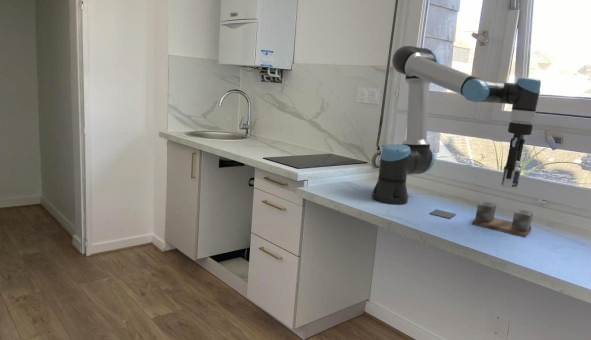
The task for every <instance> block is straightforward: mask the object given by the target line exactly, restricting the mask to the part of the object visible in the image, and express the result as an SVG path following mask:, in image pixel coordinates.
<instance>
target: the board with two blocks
mask: <svg viewBox="0 0 591 340" xmlns="http://www.w3.org/2000/svg"><path fill="white" fill-rule="evenodd" d="M496 207H497V203H494V202H493V203H492V202H488V201H485V200H482V201H481V202H480V203H478V204H477V207H476V212H475V213H476V215H475V217H474V219H473V220H472V225H474V226H477V227H478V226H479V227H481V228H482V227H483V228H488V229H491V230H495V231H497V232H498V231H499V232H501V233H502V232H503V233H508V234H511V235H515V236H520V237H524V238H527V236H528V235H529V233H530V232H531V230H532V227H533V226H531V224H532V219H533V215H534V214H533V213H534V212H533V211H530V210H527V209H526V210H525V209H519V208H517V209H516V210H515V211H514V213H513V217H512V221H510V220H506V219H502V218H497V217H495V214H496V209H497V208H496Z"/></svg>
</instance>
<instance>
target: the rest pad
mask: <svg viewBox="0 0 591 340" xmlns="http://www.w3.org/2000/svg"><path fill="white" fill-rule="evenodd" d="M429 215H433V216H437V217H440V218H443V219H448V220H451V219H452V218H454V217H455V216H457V214H456V213H454V212H449V211H445V210H442V209H437V208H436V209H434V210H432V211H430V212H429Z"/></svg>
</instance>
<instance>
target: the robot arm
mask: <svg viewBox="0 0 591 340" xmlns="http://www.w3.org/2000/svg"><path fill="white" fill-rule="evenodd" d="M391 61H392V67H393V69H394V70H395V71H396V72H397V73H398V74H401V75H405V83H407V84H408V94H407V96H408V97H407V118H406V138H405V140H404V141H403V142H402V144H400V143H399V144H398V143H397V144H395V143H393V144H386V145H384V146H383V147H382V148H381V149H382V150H381V154H380V161H379V169H378V170H379V172H378V176H377V177H378V178H377V181H376V183H375V186H374V188H373V189H372V192H371V193H372V194H371V198H372V199H373V200H375V201H377V202H380V203H384V204H388V205H389V204H391V205H403V204H407V203H408V201H409V194H408V189H407V178H408V175H420V174H426V173H427V172H428V171H430V170H431V169H433V166H434V163H435V153H434V152H433V150H432V149H431V147H430V146H431V143H430V142H429V141H428V139H427V138H428V137H427V136H428V118H429V117H428V116H429V101H430V100H429V97H430V96H429V95H430V84H431V83H432V84H434V85H437V86H438V87H442V88H443V89H446V90H449V91H451V92H453V93H456V94H459V95H461V96H463V97H464V98H465V99H466V100H468V101H470V102H473V103H492V104H493V103H494V104H503V105H504V104H505V105H512V107H511V113H510V116H509V121H510V122H509V123H508V128H507V133H510V134H513V137H512V138H510V141H509V142H510V143H509V150H508V154H507V159H506V164H505V166H506V167H505V166H504V167H503V170H504V169H506V173H505V179H504V184H503V186H502V187H503V188H505V189H506V188H507V189H512V183H513V178H514V173H515V165H516V161H520V162H521V159H522V155H523V150H524V144H525V141H526V139H524V136H530V135H532V131H533V126H534V125H533V123H534V120H535V118H536V117H537V116H538V115H537V114H536V111H537V105H538V103H539V102H538V101H539V96H540V94H541V86H542V85H541V84H542V82H541V79H539V78H532V77H518V78H517V80H516V82H502V81H492V80H487V79H483V78H482V79H481V78H479V77H477V76H473V75H471V74H469V73H466V72H463V71H460V70H457V69H455V68H452V67H449V66H447V65H444V64H441V63H440V59H439V55H438V54H437V53H436V52H435V51H433V50H432V49H428V48H426V47H420V46H413V45H404V46H401V47H399V48H398V49H397V50H396V51H395V52H394V54H393V56H392V60H391ZM518 167H519V168H520V169H521V168H522V167H521V166H520V165H519V166H518Z"/></svg>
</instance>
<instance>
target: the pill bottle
mask: <svg viewBox="0 0 591 340" xmlns="http://www.w3.org/2000/svg"><path fill="white" fill-rule="evenodd" d="M520 165H521V160H520V161H516V165H515V173H514V178H513V183H512V188H511V190H512V189H514V190H515V189H518V186H519V182H520V177H521V168H519V167H518V166H520ZM504 167H506V165H505V166H504ZM505 173H506V169H504V168H503V173H502V178H501V183H500V185H501V187H503V184H504V179H505Z"/></svg>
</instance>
